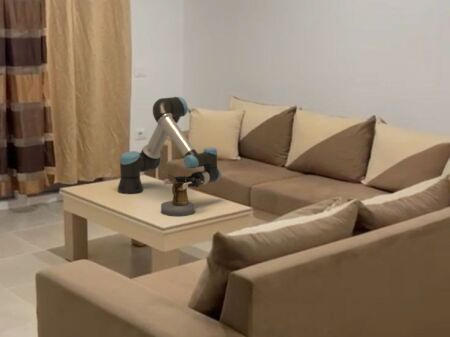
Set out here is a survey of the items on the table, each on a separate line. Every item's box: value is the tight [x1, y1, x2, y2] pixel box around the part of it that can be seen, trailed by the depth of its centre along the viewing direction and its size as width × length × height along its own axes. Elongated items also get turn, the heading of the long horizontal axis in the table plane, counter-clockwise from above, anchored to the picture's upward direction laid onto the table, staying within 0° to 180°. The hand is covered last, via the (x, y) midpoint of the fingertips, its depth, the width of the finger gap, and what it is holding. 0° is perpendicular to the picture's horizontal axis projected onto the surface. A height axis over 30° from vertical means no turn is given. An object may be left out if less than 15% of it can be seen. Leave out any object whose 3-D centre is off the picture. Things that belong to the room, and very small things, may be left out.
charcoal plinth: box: [160, 200, 196, 217], centre depth 403 cm, size 18×18×4 cm
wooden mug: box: [167, 173, 190, 206], centre depth 401 cm, size 9×14×18 cm, turn 140°
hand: (173, 184), depth 398 cm, fingers open, 13 cm apart
